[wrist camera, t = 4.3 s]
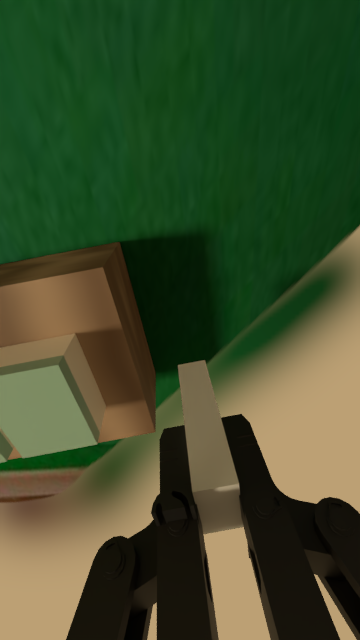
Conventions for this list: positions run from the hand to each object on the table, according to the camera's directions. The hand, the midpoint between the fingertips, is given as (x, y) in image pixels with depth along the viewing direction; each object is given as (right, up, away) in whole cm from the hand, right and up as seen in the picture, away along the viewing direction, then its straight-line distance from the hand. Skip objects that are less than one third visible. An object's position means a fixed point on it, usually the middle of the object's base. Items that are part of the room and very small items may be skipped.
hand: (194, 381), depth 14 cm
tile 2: (-9, 0, +2) cm, 9 cm away
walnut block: (-11, +2, +8) cm, 14 cm away
